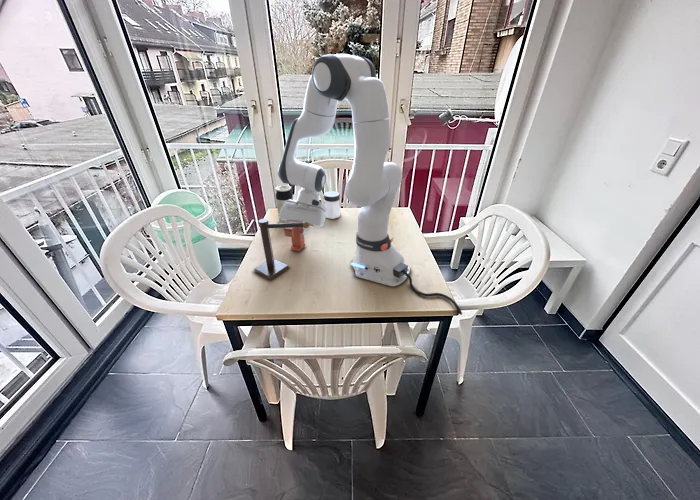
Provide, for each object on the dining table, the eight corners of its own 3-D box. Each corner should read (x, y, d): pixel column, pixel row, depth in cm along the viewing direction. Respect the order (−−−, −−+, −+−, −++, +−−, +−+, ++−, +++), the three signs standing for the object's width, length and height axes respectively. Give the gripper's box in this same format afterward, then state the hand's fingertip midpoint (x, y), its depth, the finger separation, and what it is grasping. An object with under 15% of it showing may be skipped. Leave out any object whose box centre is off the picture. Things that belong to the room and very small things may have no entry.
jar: (334, 210, 156) (334, 189, 149) (343, 215, 150) (343, 194, 144) (320, 215, 151) (319, 193, 144) (329, 220, 146) (329, 198, 139)
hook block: (296, 243, 125) (294, 219, 119) (305, 245, 124) (303, 221, 117) (286, 253, 119) (282, 227, 112) (295, 255, 117) (292, 229, 111)
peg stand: (251, 281, 104) (240, 230, 92) (257, 261, 114) (248, 213, 103) (312, 278, 106) (308, 227, 94) (313, 258, 116) (309, 211, 105)
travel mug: (297, 218, 147) (293, 185, 137) (293, 225, 140) (289, 191, 131) (282, 217, 148) (277, 184, 138) (277, 224, 141) (272, 190, 131)
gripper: (282, 196, 122) (271, 226, 119) (324, 203, 115) (314, 235, 113) (289, 201, 127) (279, 230, 125) (330, 209, 121) (320, 240, 118)
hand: (296, 233), depth 119 cm, fingers closed on hook block, 4 cm apart
